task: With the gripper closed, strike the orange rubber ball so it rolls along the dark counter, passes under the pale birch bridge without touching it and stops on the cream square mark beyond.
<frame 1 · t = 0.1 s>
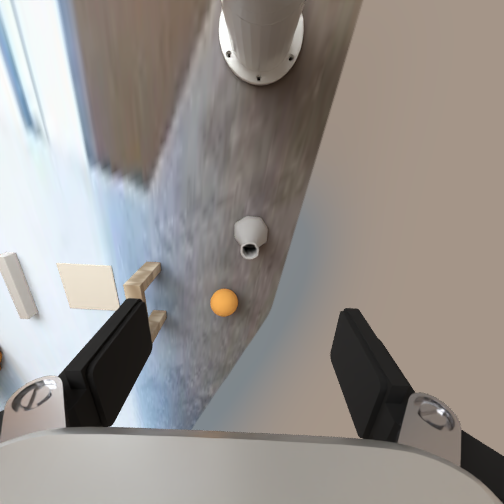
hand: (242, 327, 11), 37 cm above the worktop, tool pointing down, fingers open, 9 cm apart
bridge: (157, 291, 54), on the worktop
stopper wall: (23, 283, 54), on the worktop
flask: (251, 231, 48), on the worktop
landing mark: (90, 287, 54), on the worktop
ball: (224, 302, 51), on the worktop
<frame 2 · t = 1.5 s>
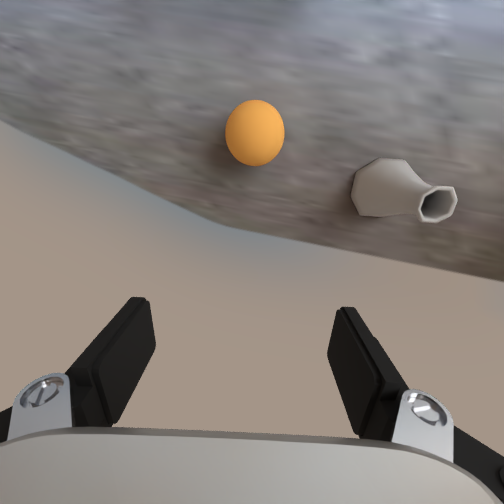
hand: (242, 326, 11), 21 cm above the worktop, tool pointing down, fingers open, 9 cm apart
flask: (378, 188, 29), on the worktop
ball: (254, 134, 24), on the worktop
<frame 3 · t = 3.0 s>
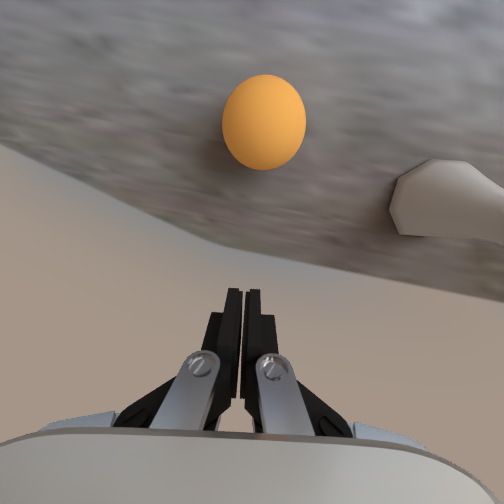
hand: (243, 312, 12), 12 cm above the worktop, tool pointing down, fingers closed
flask: (426, 199, 22), on the worktop
ball: (263, 126, 17), on the worktop
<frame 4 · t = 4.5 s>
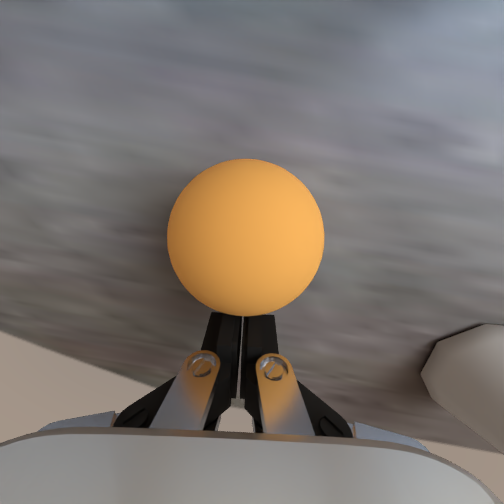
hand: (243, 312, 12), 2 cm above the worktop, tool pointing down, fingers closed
flask: (471, 360, 16), on the worktop
ball: (246, 239, 9), on the worktop
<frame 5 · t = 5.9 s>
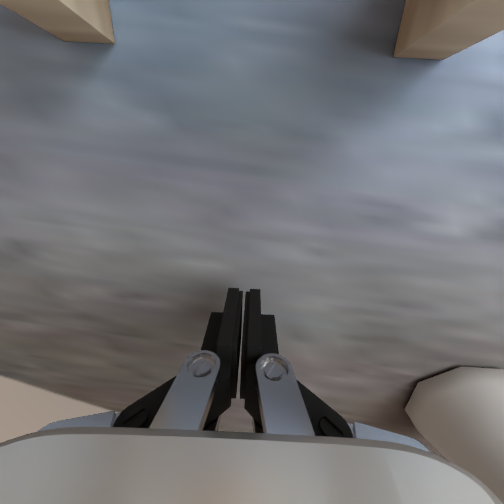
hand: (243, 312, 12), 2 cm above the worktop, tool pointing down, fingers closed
flask: (451, 395, 17), on the worktop
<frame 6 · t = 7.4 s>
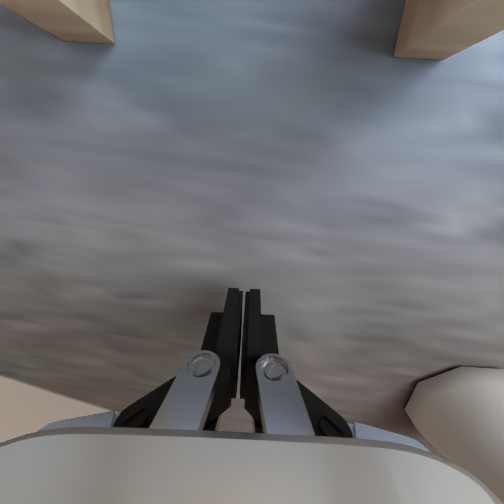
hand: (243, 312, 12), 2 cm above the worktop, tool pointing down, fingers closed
flask: (451, 395, 17), on the worktop
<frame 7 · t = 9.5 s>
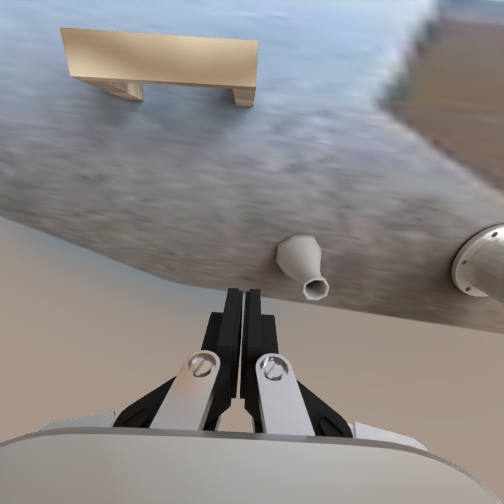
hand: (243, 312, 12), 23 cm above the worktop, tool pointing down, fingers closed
bridge: (189, 88, 27), on the worktop
flask: (297, 254, 37), on the worktop
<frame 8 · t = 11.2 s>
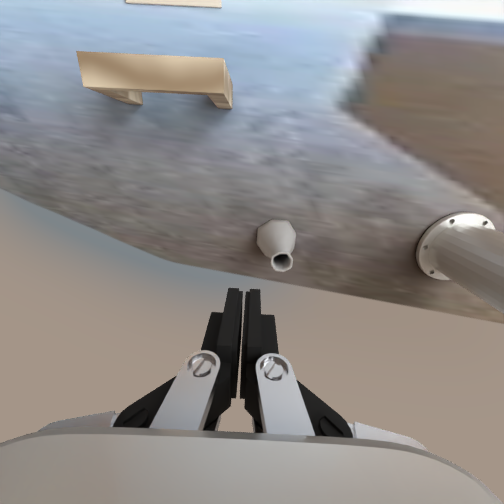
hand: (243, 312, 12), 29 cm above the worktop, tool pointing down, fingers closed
bridge: (179, 94, 33), on the worktop
flask: (276, 237, 42), on the worktop
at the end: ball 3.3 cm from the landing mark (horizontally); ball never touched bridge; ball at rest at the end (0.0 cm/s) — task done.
